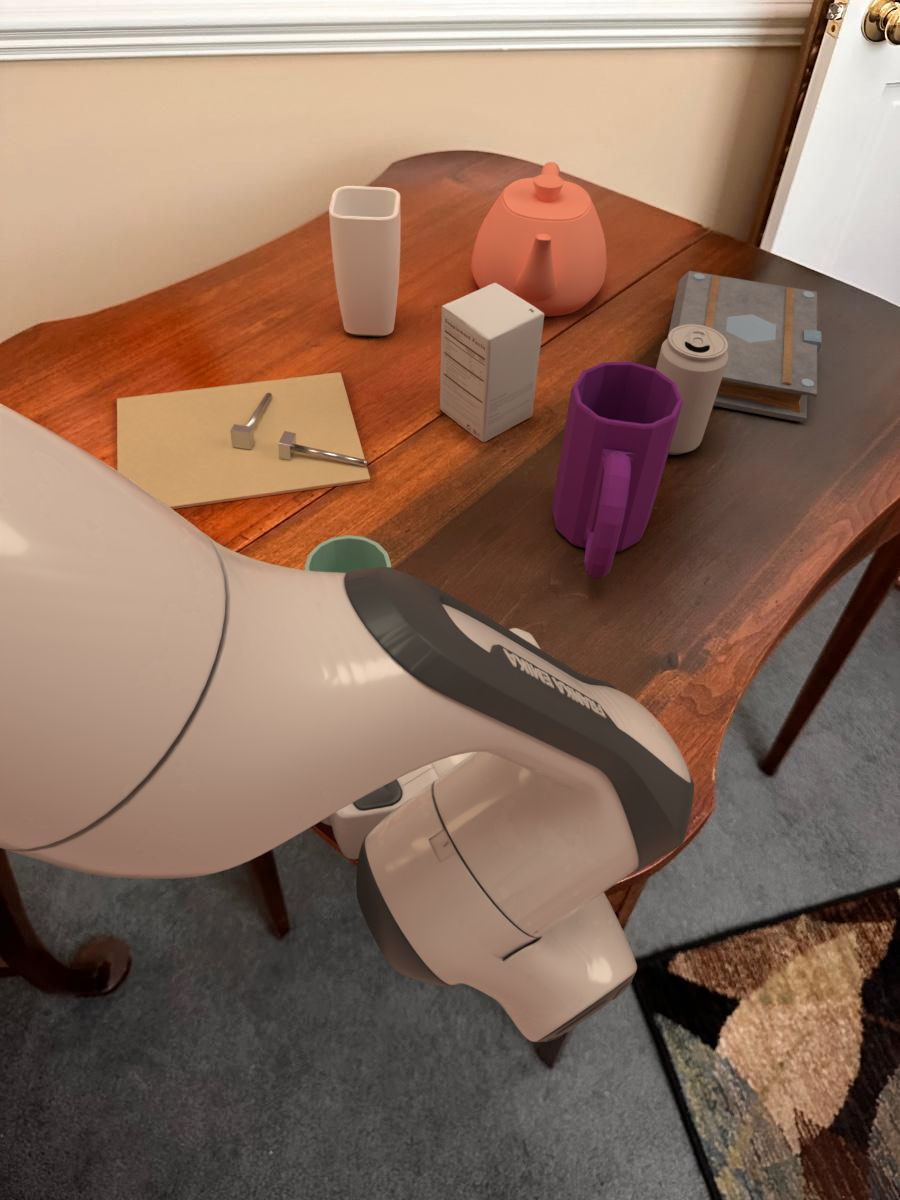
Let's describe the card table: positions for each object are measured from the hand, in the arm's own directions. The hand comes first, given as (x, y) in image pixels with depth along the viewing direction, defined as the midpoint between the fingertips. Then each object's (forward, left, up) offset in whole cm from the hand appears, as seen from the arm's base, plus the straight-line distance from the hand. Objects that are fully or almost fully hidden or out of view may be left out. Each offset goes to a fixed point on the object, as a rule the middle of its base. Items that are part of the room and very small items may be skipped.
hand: (376, 637), depth 66 cm
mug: (+23, +11, -6) cm, 26 cm away
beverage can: (+36, +24, -6) cm, 43 cm away
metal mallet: (+4, +26, -5) cm, 27 cm away
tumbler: (-1, +5, -6) cm, 8 cm away
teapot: (+31, +55, -6) cm, 63 cm away
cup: (+9, +51, -6) cm, 52 cm away
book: (+49, +36, -6) cm, 61 cm away
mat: (-8, +33, -6) cm, 34 cm away
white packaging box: (+18, +32, -6) cm, 37 cm away
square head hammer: (-4, +39, -5) cm, 40 cm away
